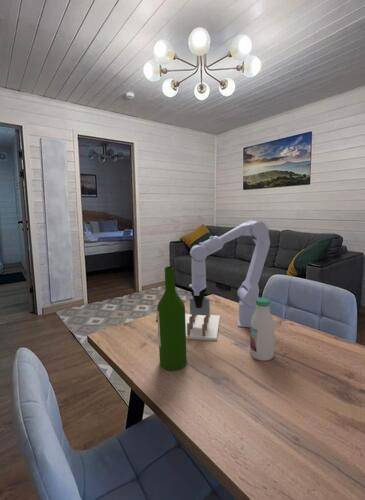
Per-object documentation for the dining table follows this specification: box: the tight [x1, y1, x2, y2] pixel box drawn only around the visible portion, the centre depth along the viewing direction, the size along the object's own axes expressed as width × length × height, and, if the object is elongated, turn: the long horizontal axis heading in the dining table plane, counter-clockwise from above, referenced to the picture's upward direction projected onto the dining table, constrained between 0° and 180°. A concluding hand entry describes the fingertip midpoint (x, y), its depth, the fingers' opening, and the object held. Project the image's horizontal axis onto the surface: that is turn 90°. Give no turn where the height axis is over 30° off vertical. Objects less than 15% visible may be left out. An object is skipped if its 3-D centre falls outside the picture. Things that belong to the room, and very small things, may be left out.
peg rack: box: [185, 313, 221, 342], centre depth 114 cm, size 16×21×6 cm
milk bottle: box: [249, 297, 275, 362], centre depth 91 cm, size 8×8×20 cm
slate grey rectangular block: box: [189, 296, 211, 316], centre depth 113 cm, size 8×2×7 cm, turn 79°
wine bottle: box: [156, 266, 188, 372], centre depth 87 cm, size 9×9×32 cm
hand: (199, 306), depth 113 cm, fingers closed on slate grey rectangular block, 2 cm apart
